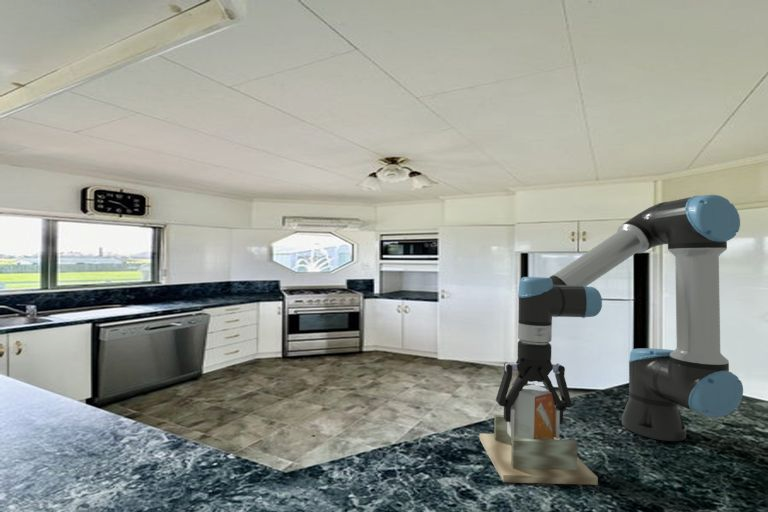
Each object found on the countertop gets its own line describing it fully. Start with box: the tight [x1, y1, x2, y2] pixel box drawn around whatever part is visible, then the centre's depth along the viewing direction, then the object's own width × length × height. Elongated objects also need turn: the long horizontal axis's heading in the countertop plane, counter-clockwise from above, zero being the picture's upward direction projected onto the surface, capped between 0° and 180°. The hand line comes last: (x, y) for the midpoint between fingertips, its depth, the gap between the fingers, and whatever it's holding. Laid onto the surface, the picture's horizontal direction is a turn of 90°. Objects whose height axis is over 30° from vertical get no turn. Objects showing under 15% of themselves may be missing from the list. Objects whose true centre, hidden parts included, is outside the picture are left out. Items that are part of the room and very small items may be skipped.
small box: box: [511, 383, 556, 443], centre depth 91 cm, size 8×6×13 cm
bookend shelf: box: [479, 414, 599, 486], centre depth 91 cm, size 20×20×8 cm
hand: (532, 435), depth 91 cm, fingers closed on small box, 10 cm apart
